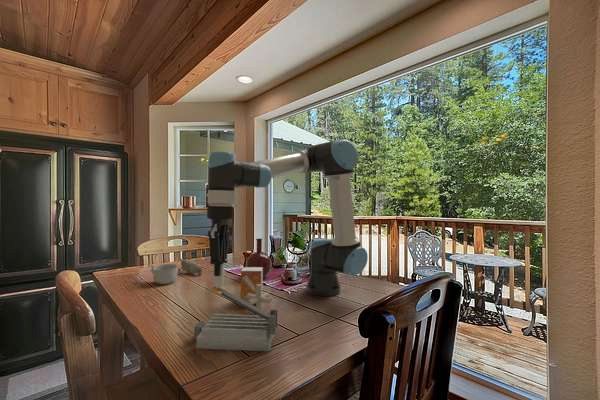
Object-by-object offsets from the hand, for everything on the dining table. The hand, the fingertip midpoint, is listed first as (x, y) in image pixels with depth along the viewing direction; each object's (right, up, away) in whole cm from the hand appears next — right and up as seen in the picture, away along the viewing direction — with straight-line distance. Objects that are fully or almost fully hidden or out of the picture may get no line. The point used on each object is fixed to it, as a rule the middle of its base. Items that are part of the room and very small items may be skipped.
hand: (218, 286), depth 85 cm
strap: (+7, -6, 0) cm, 9 cm away
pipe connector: (+9, -16, +20) cm, 27 cm away
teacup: (-42, -15, +55) cm, 71 cm away
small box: (+5, -16, +31) cm, 35 cm away
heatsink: (+6, -15, 0) cm, 16 cm away
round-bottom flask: (+2, -15, +66) cm, 68 cm away
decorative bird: (-35, -15, +72) cm, 82 cm away
